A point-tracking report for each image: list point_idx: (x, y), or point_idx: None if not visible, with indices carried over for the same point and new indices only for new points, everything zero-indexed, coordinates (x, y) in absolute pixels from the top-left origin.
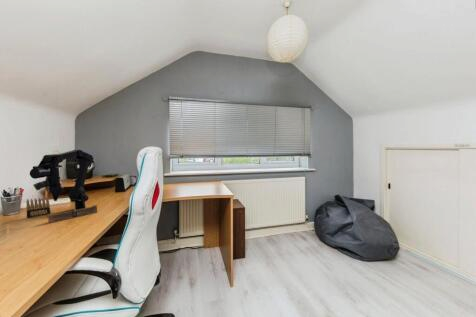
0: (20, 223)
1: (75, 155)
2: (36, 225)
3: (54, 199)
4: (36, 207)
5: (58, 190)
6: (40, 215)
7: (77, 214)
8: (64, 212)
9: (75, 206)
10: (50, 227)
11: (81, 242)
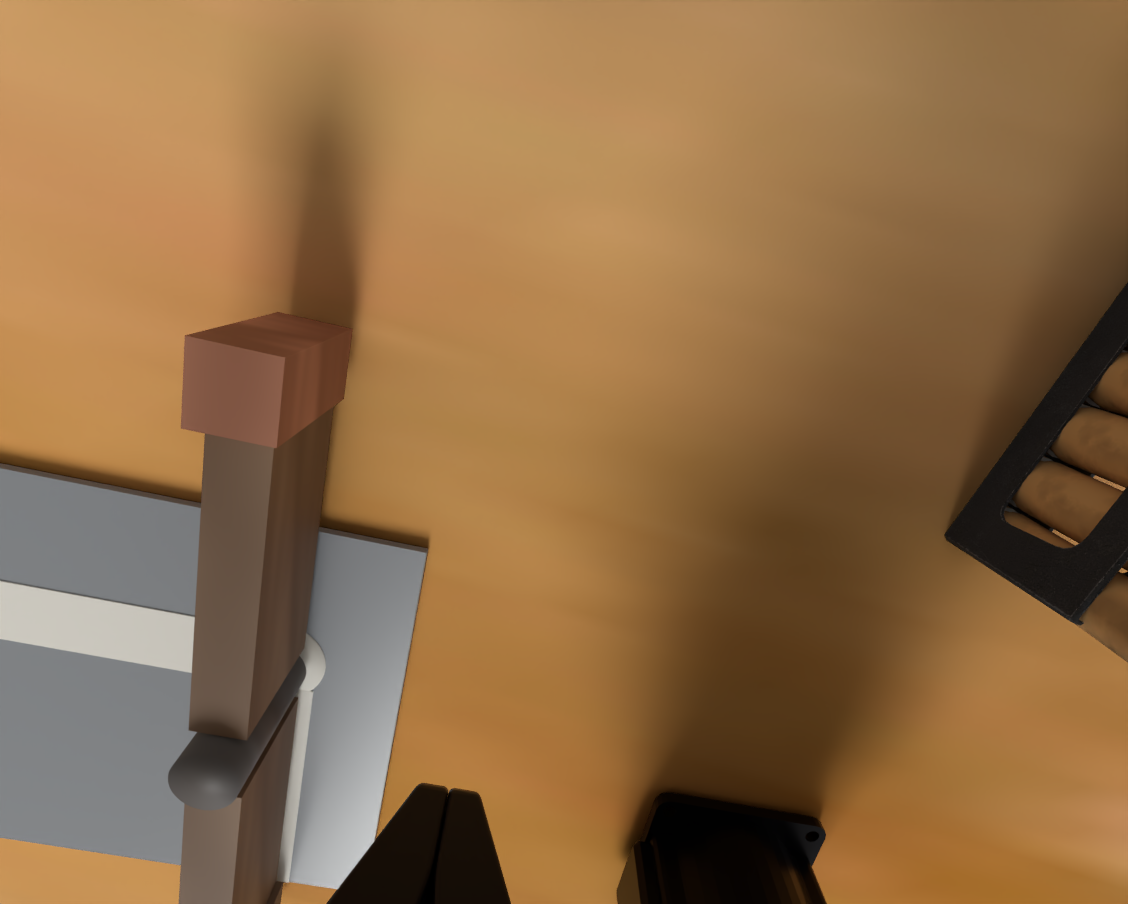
0: (948, 23)
1: None
2: (459, 159)
3: (371, 856)
4: None
5: None
6: (1048, 417)
7: None
8: (252, 631)
9: (736, 888)
10: (71, 258)
11: None
